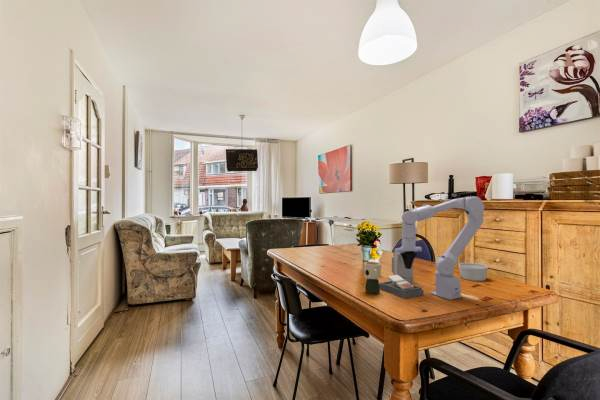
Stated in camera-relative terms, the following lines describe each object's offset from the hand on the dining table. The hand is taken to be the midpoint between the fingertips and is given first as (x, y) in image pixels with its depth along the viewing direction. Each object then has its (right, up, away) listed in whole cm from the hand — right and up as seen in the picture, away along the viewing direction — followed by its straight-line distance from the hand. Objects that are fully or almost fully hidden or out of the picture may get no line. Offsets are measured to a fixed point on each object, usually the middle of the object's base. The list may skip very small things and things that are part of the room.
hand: (408, 268), depth 132 cm
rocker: (-3, -6, +1) cm, 7 cm away
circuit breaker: (+3, -11, +17) cm, 20 cm away
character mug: (-16, -11, -1) cm, 19 cm away
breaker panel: (-3, -10, +1) cm, 11 cm away
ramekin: (+42, -11, +22) cm, 49 cm away
